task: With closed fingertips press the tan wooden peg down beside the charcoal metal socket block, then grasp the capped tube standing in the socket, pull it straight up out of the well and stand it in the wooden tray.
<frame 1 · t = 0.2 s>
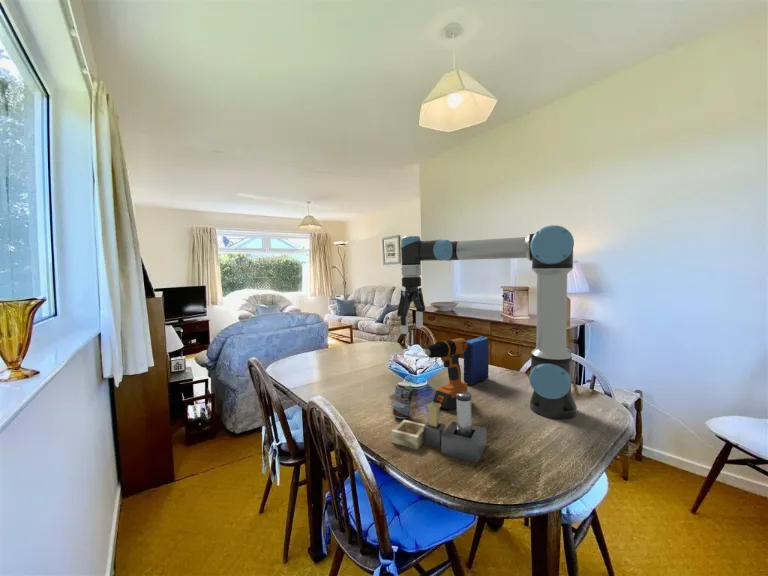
hand: (412, 330, 134), 28 cm above the table, fingers open, 13 cm apart
wooden tray: (410, 442, 104), on the table
power drill: (447, 406, 130), on the table
tan wooden peg: (434, 417, 101), point 8 cm above the table, slide at 0.0 cm
socket block: (464, 452, 97), on the table
capped tube: (464, 449, 97), point 1 cm above the table, touching socket block
book: (476, 382, 155), on the table
beverage can: (403, 416, 122), on the table
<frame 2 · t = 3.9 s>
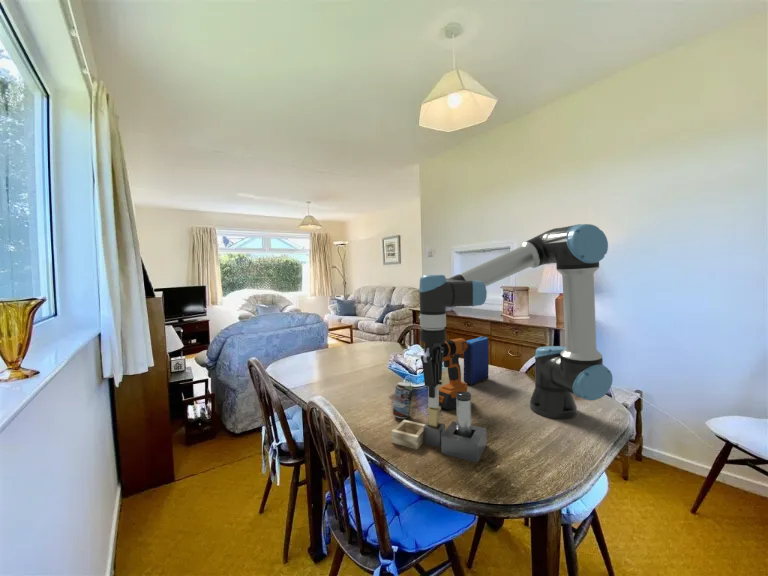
hand: (433, 406, 101), 12 cm above the table, fingers closed
tan wooden peg: (434, 420, 101), point 8 cm above the table, slide at 0.9 cm, touching gripper
everything else where it was.
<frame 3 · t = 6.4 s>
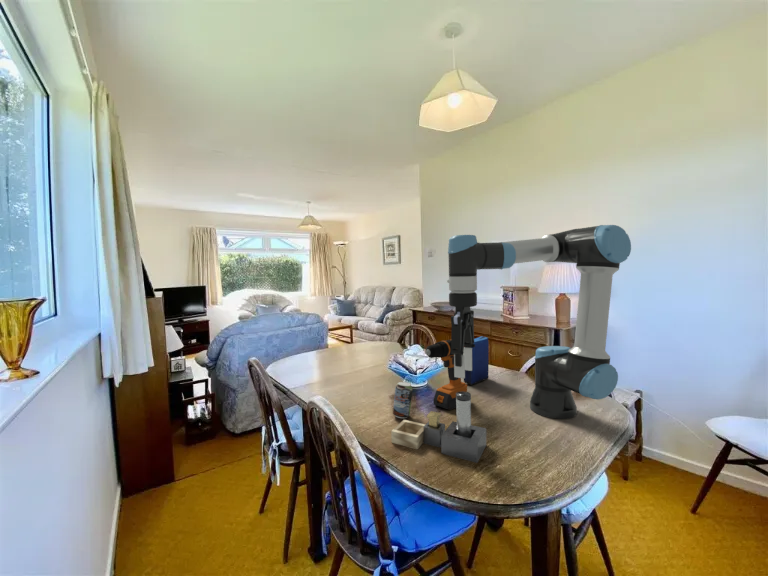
hand: (463, 373, 96), 23 cm above the table, fingers open, 7 cm apart
tan wooden peg: (434, 426, 101), point 6 cm above the table, slide at 2.9 cm
everything else where it was.
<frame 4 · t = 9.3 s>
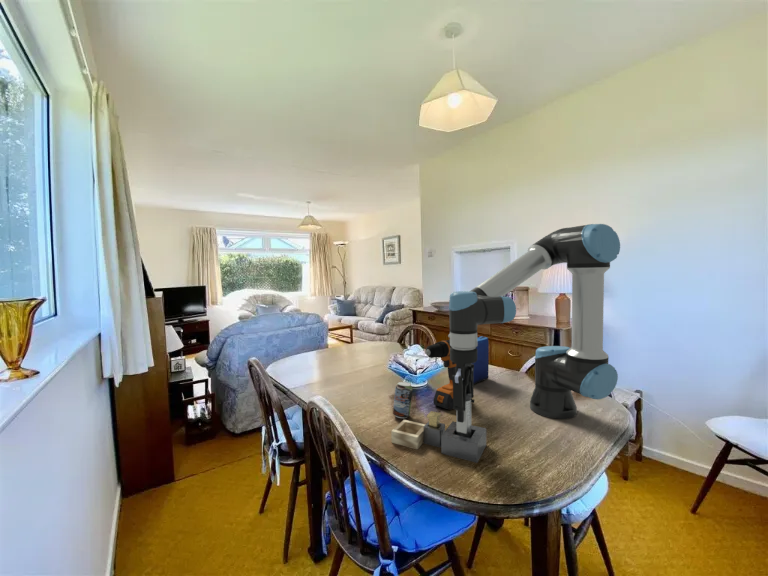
hand: (464, 428, 97), 7 cm above the table, fingers closed on capped tube, 4 cm apart
capped tube: (464, 449, 97), point 1 cm above the table, touching gripper, socket block
everything else where it was.
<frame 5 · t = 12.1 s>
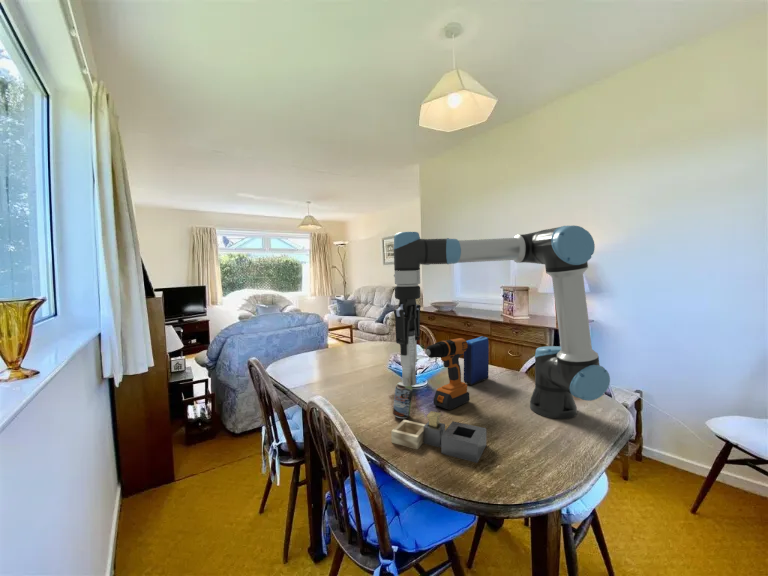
hand: (408, 363, 102), 24 cm above the table, fingers closed on capped tube, 4 cm apart
capped tube: (409, 383, 102), point 18 cm above the table, touching gripper
everything else where it was.
when the fingers open (8 cm above the table, at t = 15.3 s): capped tube stays where it is, resting on wooden tray.
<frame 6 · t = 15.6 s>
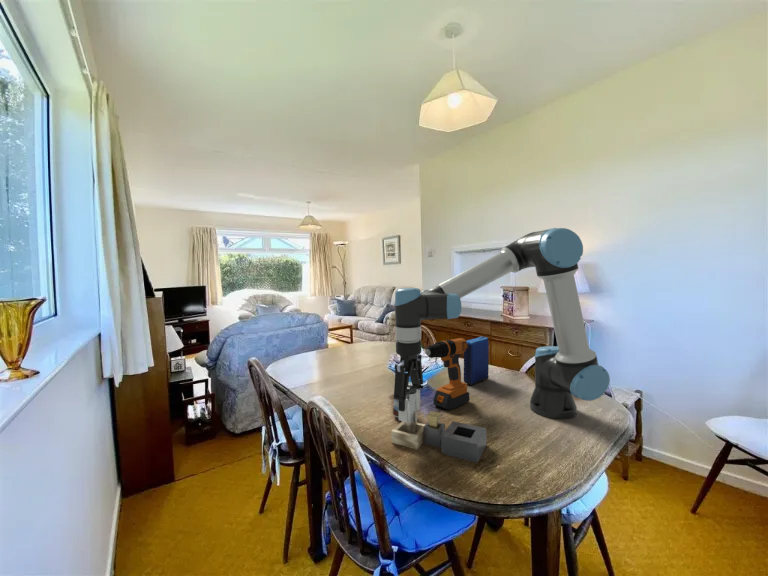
hand: (409, 414, 103), 9 cm above the table, fingers open, 8 cm apart
capped tube: (410, 439, 104), point 1 cm above the table, touching wooden tray
everything else where it was.
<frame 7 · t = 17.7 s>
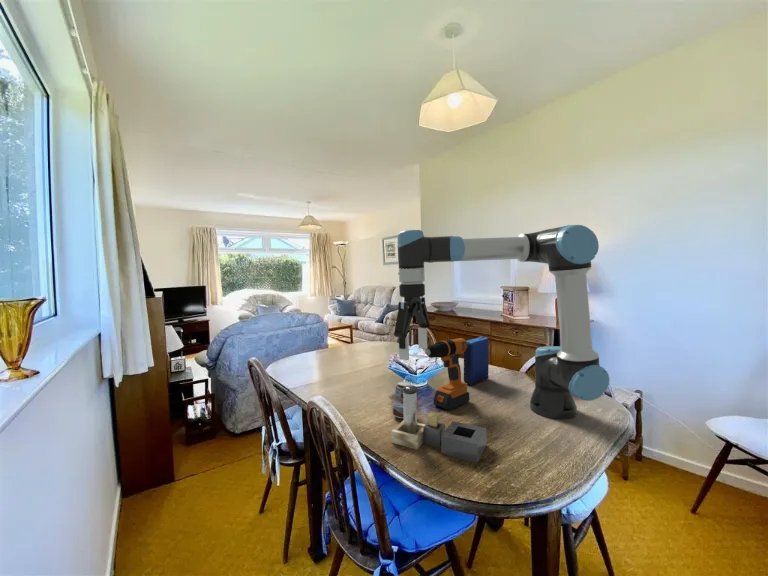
hand: (414, 353, 103), 27 cm above the table, fingers open, 13 cm apart
nothing on the table moved.
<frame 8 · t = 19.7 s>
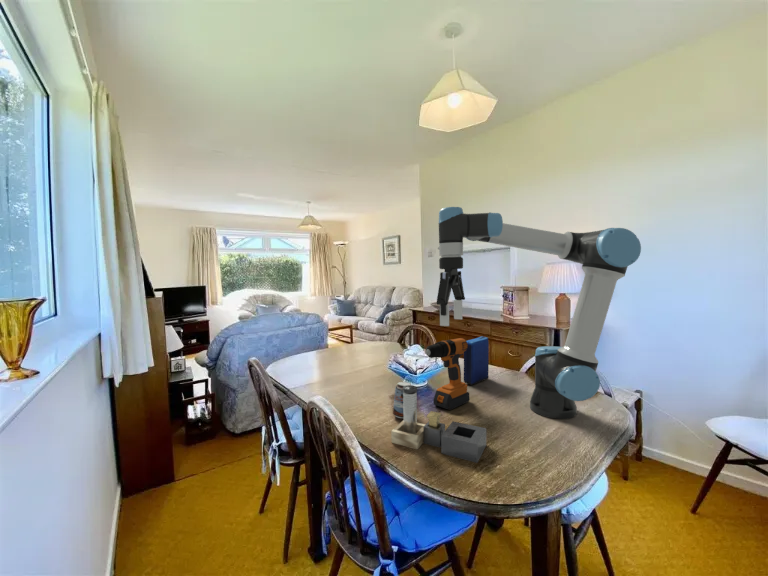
hand: (451, 322, 111), 35 cm above the table, fingers open, 13 cm apart
nothing on the table moved.
at the end: capped tube 0.0 cm off-centre on the wooden tray, point 1.0 cm above the wooden tray's base; capped tube tilted 1°; tan wooden peg slide at 2.9 cm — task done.
